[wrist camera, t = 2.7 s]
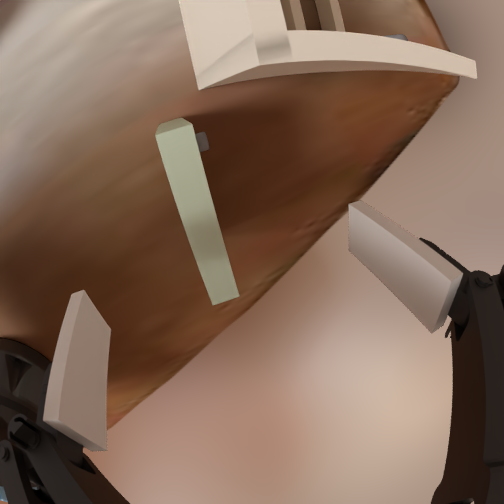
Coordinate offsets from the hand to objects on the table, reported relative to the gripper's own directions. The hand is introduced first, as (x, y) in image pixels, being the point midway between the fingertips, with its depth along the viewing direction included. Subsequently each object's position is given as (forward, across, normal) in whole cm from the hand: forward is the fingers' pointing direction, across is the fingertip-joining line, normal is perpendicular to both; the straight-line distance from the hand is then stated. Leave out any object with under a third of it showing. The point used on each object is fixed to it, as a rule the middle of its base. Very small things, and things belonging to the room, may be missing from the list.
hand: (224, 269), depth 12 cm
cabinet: (+15, -10, -18) cm, 25 cm away
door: (+15, 0, 0) cm, 15 cm away
